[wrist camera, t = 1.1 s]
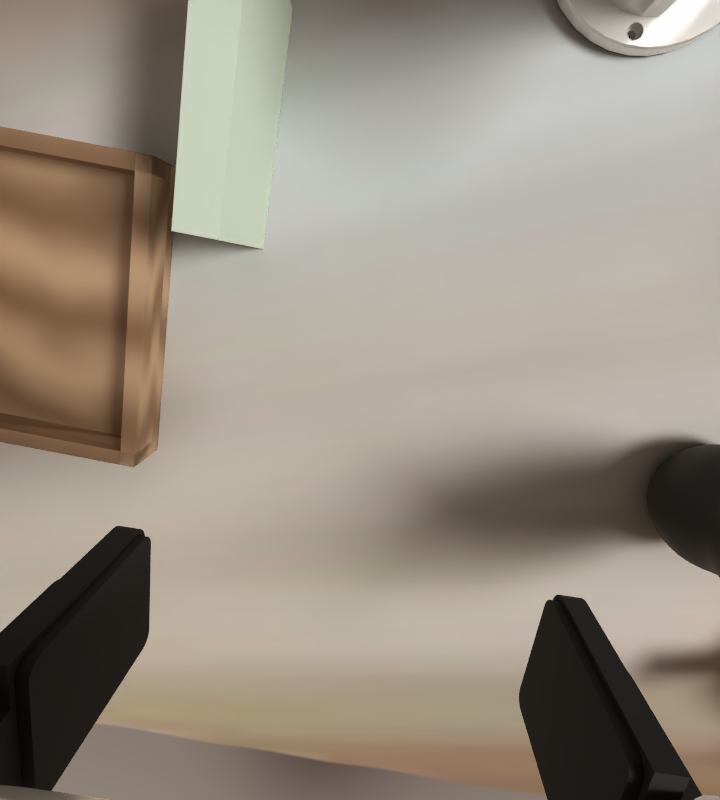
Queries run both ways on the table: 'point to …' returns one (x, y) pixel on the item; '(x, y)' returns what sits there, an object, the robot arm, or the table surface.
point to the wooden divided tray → (82, 296)
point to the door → (230, 117)
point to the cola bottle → (689, 505)
